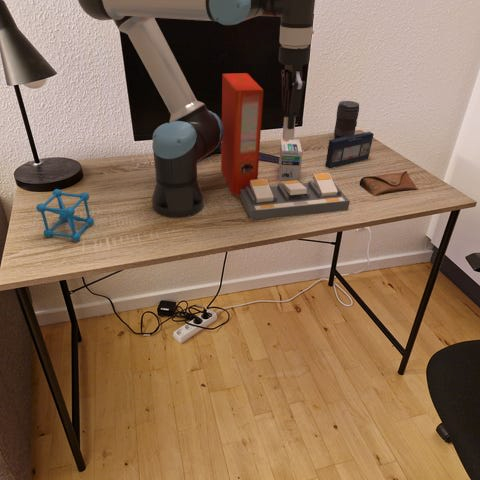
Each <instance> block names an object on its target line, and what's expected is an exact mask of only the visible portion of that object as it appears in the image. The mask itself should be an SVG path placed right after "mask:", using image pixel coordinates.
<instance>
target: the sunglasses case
mask: <svg viewBox="0 0 480 480" xmlns="http://www.w3.org/2000/svg"><path fill="white" fill-rule="evenodd" d="M359 186H360V187H361V188H362V189H364V190H365V191H366V192H367V193H369V194H370V195H372V196H373V197H378V196H381V195H387V194H393V193H398V192H407V191H416V190H419V188H418V187H417V186H416V185H415V183H414V182H413V180H412V178H411V177H410V174H409V173H408V171H407V170H405V171H401V172H393V173H386V174H384V173H383V174H378V175H373V176H372V175H367V176H364V177H362V178H361V179H360V180H359Z"/></svg>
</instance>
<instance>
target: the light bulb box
mask: <svg viewBox="0 0 480 480" xmlns="http://www.w3.org/2000/svg"><path fill="white" fill-rule="evenodd" d="M279 145H280V146H279V156H278V157H279V159H278V172H279V181H280V182H283V181H293V180H297V181H299V182H301V181H300V179H301V171H302V160H303V152H304V151H303V148H302V145H301V139H297V138H294V140H284V139H283V138H280V144H279Z"/></svg>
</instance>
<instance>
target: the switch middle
mask: <svg viewBox="0 0 480 480" xmlns="http://www.w3.org/2000/svg"><path fill="white" fill-rule="evenodd" d="M300 182H301V181H297V180H293V181H281V183H280V184H281V186H282V187H283V189H284V190H285V191H286V192H287V193H289V194H290V195H297V194H307V188H306V187H305V186H303V185H302V184H301V183H302V182H301V183H300Z"/></svg>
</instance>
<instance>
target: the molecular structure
mask: <svg viewBox="0 0 480 480" xmlns="http://www.w3.org/2000/svg"><path fill="white" fill-rule="evenodd" d="M62 196H64V197H65V196H66V197H73V198H79V200H78V201H76V202H75V203H74V205H72V206H67V207H65V203H64V202H63V200H62ZM55 198H56V199H57V204H58V208H56V207H48V205H49V204H50V203H51V202H52V201H53V200H55ZM89 199H90V195H89V193H88V192H85V191H83V192H82V193H80V194H77V193H71V192H63V191H62V190H61V189H60V188H59V189H58V188H55V189H54V190H53V191H52V196H51V197H50V198H48V199H47V200H45V202H44V203H42V202H41V203H38V204H37V205H36V209H35V210H36V211H37V212H38V213H40V214H41V217H42V221H43V224H44V228H45V230H43V236H44V237H45V238H48V239H49V238H51V237H53V236H57V237H64V238H70V239H71V240H72V241H73V242H78V241H80V240H81V234H82V233H83V232H84V231H85V229H86V228H87V227H88V226H92V225H94V223H95V219H94V218H93V217H91V216H90V215H91V214H90V210H89V206H88V201H89ZM82 202H83V204H84V208H85V213H86V218H85V217H81V216H78V215H75V213H76V212H75V211H76V210H75V209H76V208H77V207H78V206H79V205H80V204H82ZM45 212H48V213H49V212H50V213H54V214H57V215H59V216H58V221H57V222H56V223H55V224H53V226H51V228H50V227H49V225H48V222H47V217H46V213H45ZM66 222H67V223H68V225H69V227H70V230H71V234H67V233H61V232H54V230H55V229H56V228H57V227H59V226H60V224H61V223H66ZM75 222H84V223H85V224H84V225H83V226H82V227H81V228H80V229H79V230H78V231H77V230H76V225H75Z"/></svg>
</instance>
